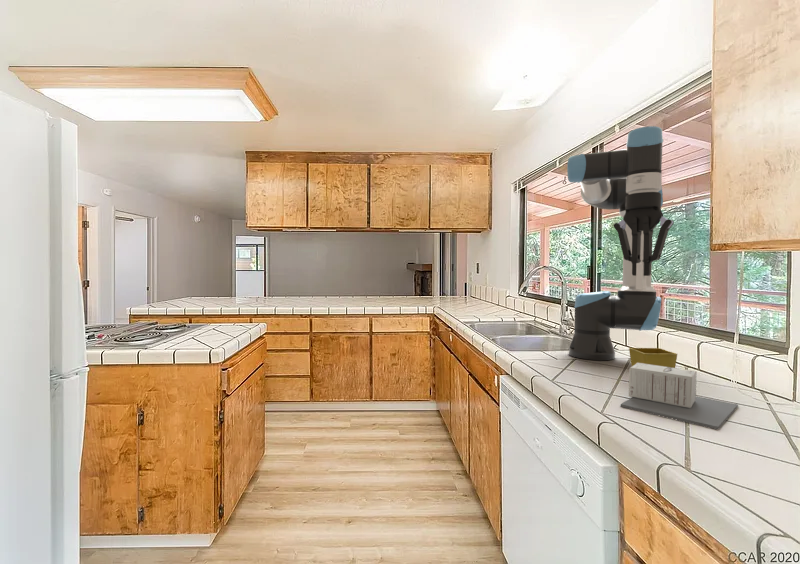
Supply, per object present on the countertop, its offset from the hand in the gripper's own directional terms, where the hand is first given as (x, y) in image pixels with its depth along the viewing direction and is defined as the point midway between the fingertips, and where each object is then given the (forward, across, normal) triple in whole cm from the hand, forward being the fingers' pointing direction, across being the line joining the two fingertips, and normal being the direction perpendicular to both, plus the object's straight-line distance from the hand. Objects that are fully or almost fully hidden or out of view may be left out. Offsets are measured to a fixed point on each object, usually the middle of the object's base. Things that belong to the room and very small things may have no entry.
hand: (641, 289), depth 101 cm
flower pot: (+27, -1, +15) cm, 31 cm away
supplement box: (+22, -1, -2) cm, 22 cm away
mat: (+27, +9, -3) cm, 28 cm away
